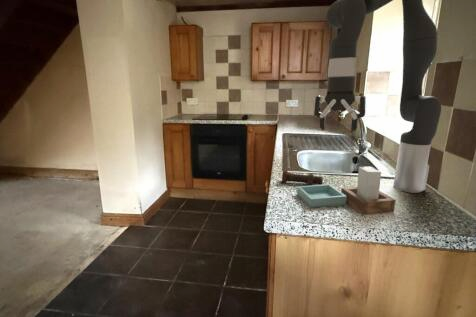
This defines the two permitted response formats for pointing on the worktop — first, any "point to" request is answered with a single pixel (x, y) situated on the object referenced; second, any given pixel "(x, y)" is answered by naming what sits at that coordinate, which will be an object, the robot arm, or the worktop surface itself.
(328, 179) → the worktop surface
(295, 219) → the worktop surface
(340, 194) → the tray
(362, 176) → the skincare box
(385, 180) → the worktop surface
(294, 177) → the bolt
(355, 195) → the holder
